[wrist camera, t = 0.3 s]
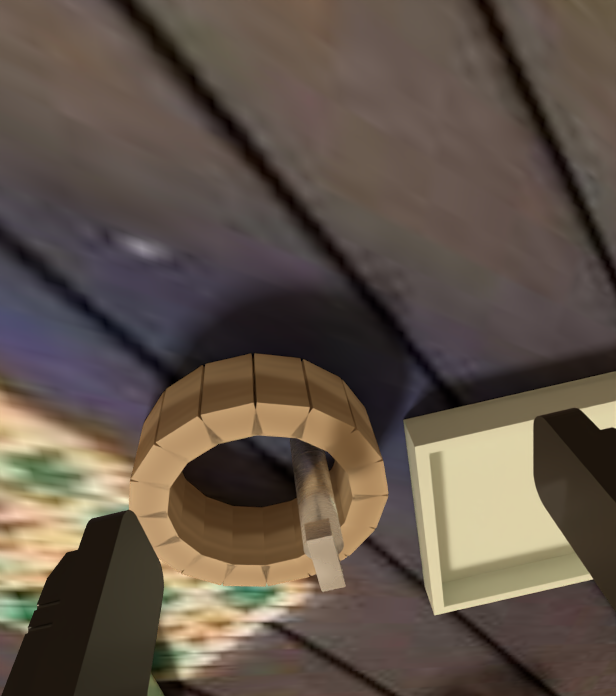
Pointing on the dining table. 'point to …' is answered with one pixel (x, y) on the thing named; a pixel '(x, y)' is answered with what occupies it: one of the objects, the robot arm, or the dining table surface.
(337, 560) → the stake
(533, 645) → the dining table surface
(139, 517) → the wooden ring
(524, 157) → the dining table surface
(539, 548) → the tray
